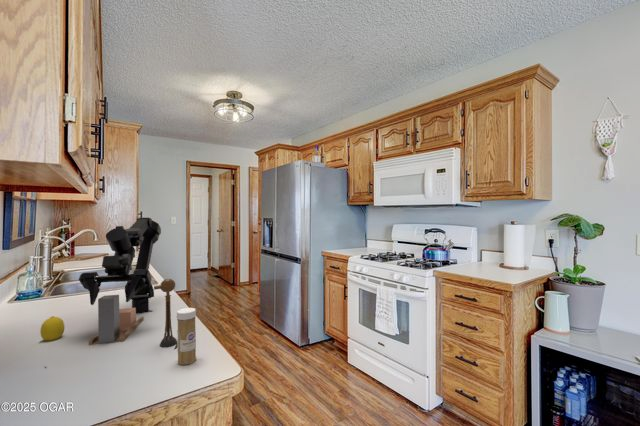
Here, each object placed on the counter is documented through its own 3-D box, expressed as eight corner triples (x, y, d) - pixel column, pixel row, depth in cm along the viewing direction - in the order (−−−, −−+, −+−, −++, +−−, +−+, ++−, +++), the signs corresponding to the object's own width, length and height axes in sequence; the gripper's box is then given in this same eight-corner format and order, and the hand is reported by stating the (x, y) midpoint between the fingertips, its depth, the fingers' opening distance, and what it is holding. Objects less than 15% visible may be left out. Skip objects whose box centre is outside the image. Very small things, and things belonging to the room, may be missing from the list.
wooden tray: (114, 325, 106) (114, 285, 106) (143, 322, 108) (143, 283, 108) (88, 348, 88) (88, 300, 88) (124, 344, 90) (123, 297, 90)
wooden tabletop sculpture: (156, 354, 84) (155, 281, 84) (153, 348, 87) (152, 279, 87) (179, 348, 87) (178, 278, 87) (176, 343, 91) (175, 276, 91)
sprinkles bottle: (187, 366, 76) (186, 313, 77) (173, 363, 78) (172, 311, 78) (200, 358, 81) (199, 308, 81) (187, 356, 82) (186, 306, 82)
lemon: (37, 344, 92) (36, 317, 92) (59, 337, 97) (59, 312, 97) (45, 347, 89) (45, 320, 89) (68, 340, 94) (67, 314, 94)
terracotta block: (119, 323, 105) (119, 309, 105) (135, 321, 106) (135, 307, 106) (113, 328, 100) (113, 313, 100) (130, 327, 101) (130, 312, 101)
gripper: (81, 246, 94) (61, 291, 83) (148, 244, 99) (138, 286, 88) (93, 267, 101) (76, 311, 91) (155, 264, 106) (146, 305, 96)
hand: (109, 302), depth 91 cm, fingers open, 9 cm apart
